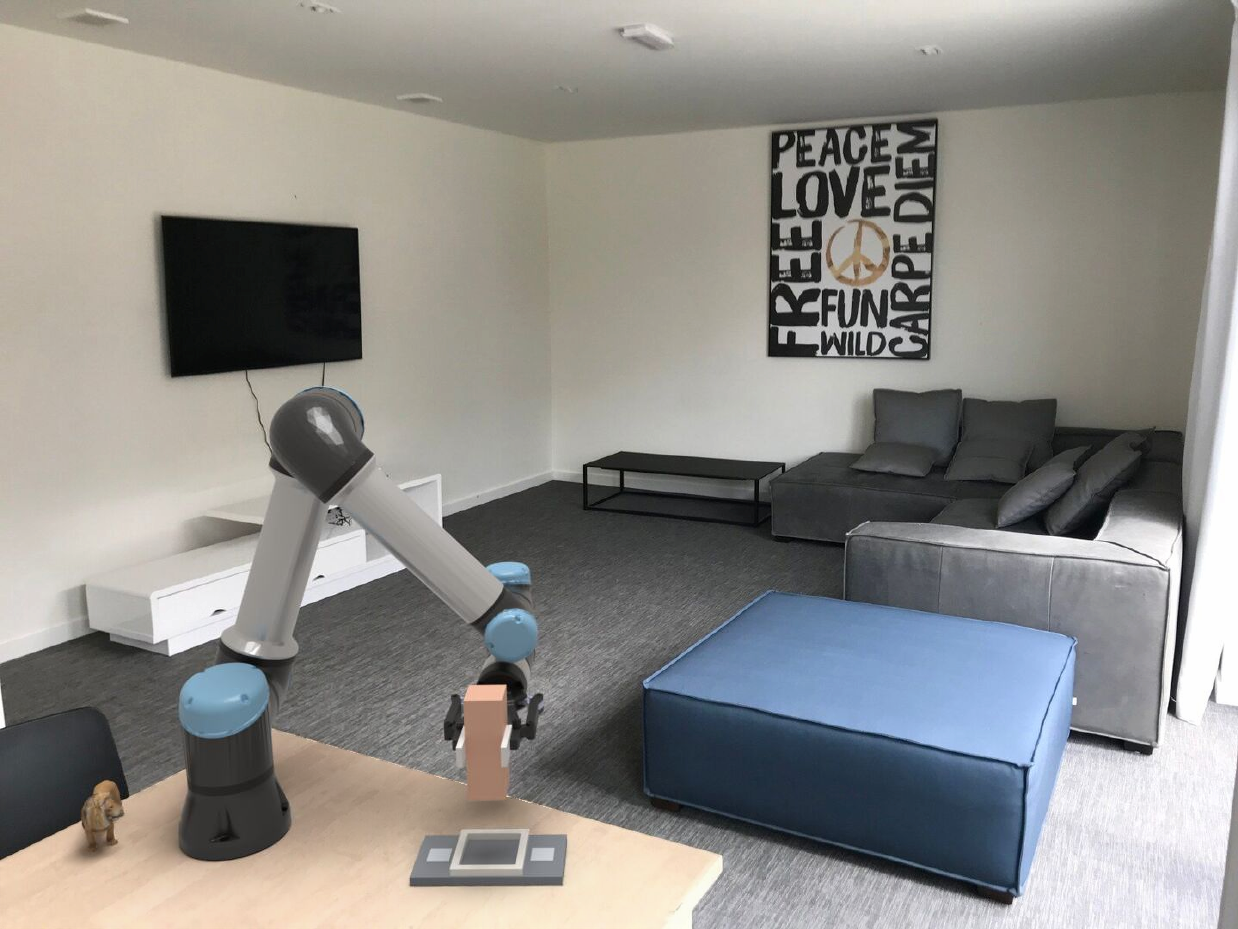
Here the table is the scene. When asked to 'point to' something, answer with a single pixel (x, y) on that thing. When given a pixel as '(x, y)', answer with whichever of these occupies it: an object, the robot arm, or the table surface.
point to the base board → (490, 859)
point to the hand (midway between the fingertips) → (481, 757)
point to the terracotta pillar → (485, 742)
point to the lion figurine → (101, 813)
